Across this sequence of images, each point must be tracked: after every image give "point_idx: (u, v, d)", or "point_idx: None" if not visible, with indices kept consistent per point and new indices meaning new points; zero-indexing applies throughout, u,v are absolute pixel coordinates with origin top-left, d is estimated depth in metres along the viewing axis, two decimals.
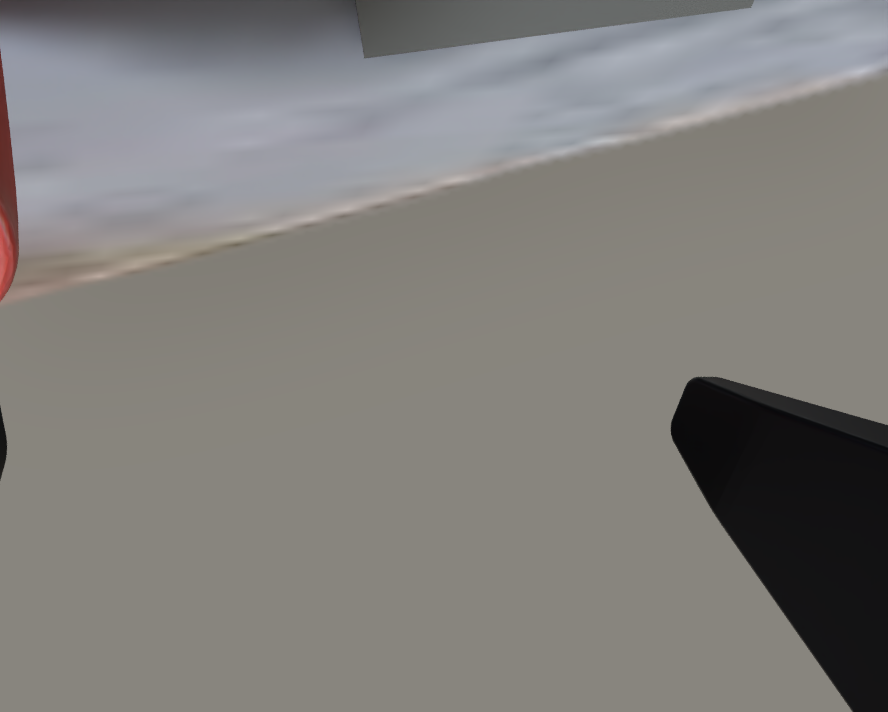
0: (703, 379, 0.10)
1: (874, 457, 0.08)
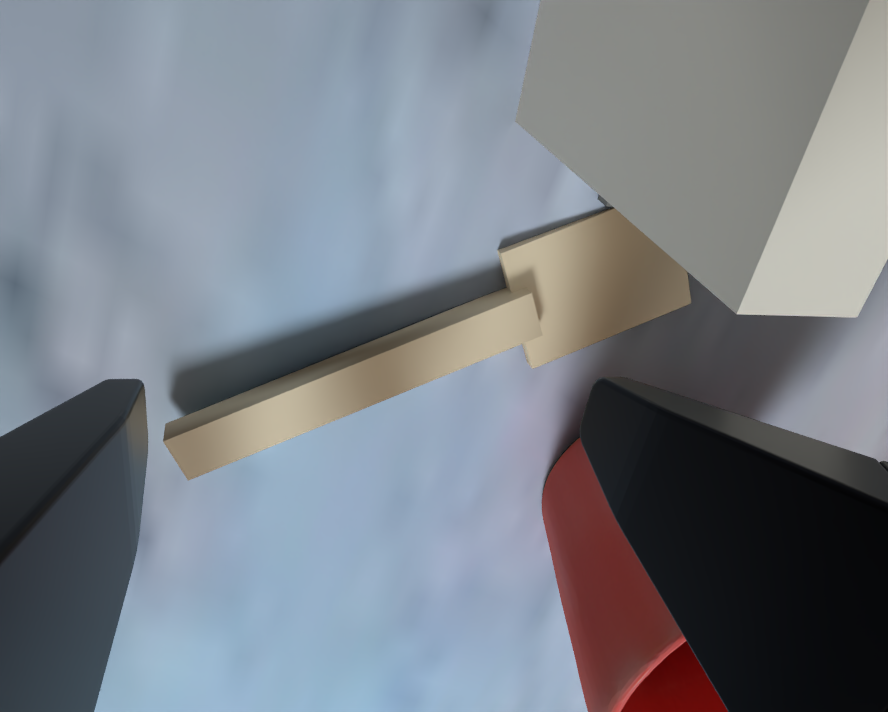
0: (607, 379, 0.10)
1: (755, 463, 0.07)
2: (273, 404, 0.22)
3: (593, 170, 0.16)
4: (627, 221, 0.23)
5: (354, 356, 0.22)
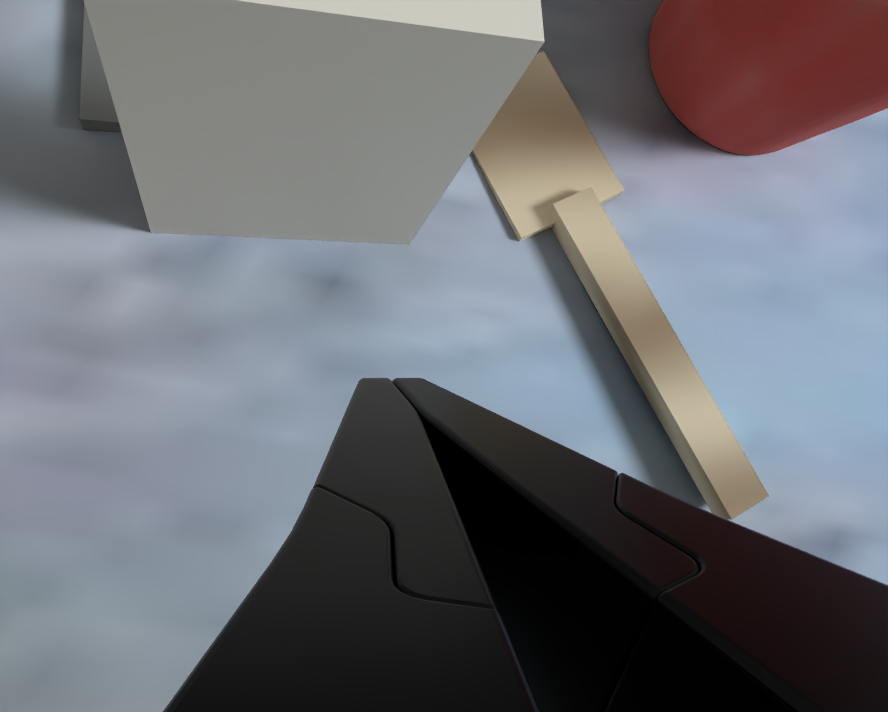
0: (398, 380, 0.09)
1: (483, 474, 0.06)
2: (684, 423, 0.24)
3: (442, 175, 0.19)
4: None
5: (631, 356, 0.25)
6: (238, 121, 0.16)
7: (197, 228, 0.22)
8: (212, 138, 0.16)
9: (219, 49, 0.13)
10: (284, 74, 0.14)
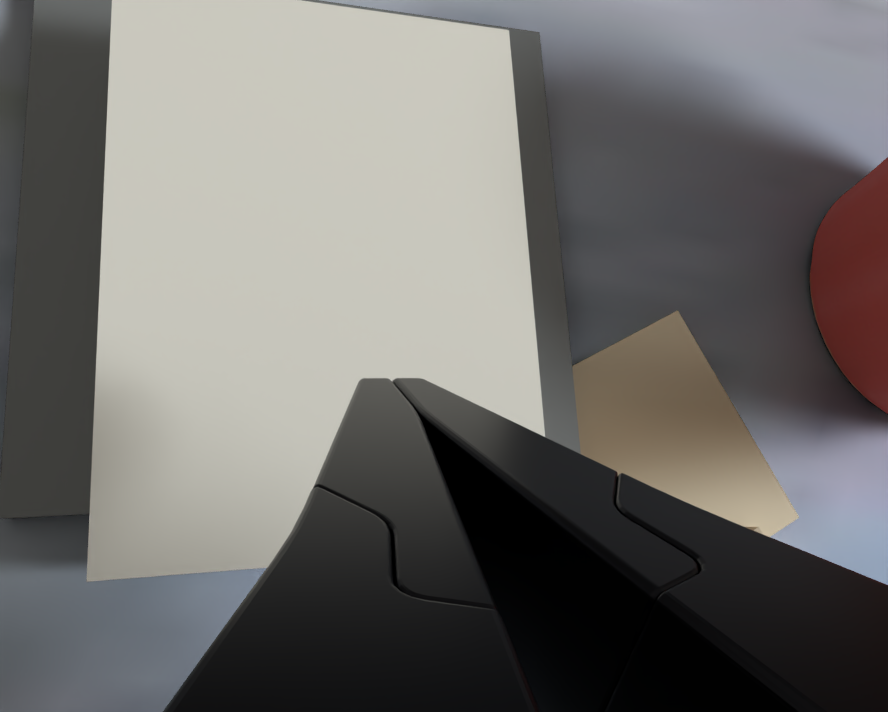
0: (398, 380, 0.09)
1: (483, 475, 0.06)
2: None
3: (514, 279, 0.15)
4: (592, 438, 0.18)
5: None
6: (250, 178, 0.13)
7: (178, 537, 0.12)
8: (218, 218, 0.13)
9: (229, 53, 0.14)
10: (294, 87, 0.14)
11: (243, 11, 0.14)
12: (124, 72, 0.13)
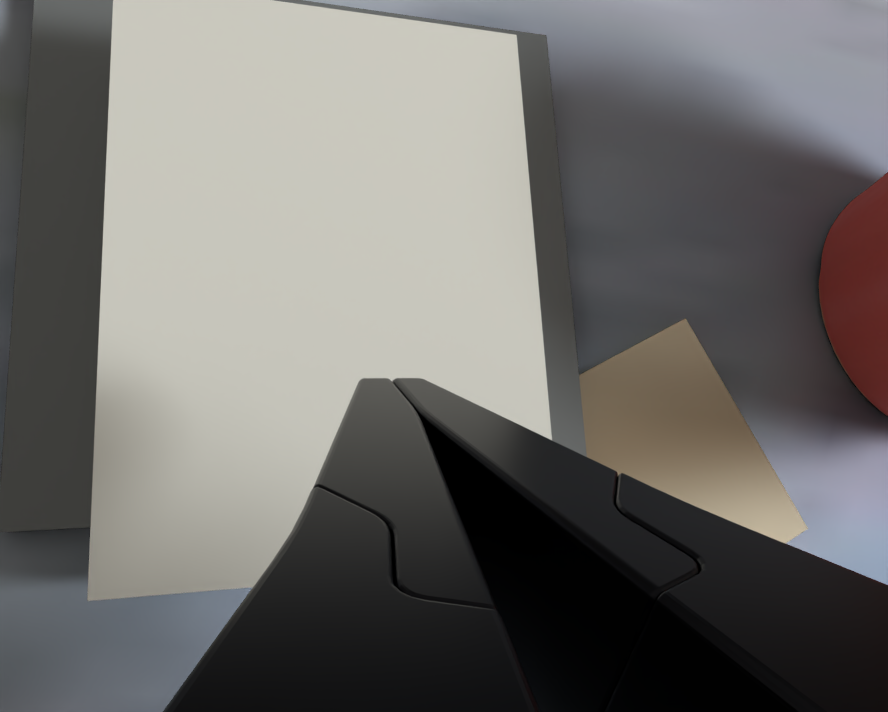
0: (398, 380, 0.09)
1: (483, 475, 0.06)
2: None
3: (522, 290, 0.14)
4: (599, 448, 0.17)
5: None
6: (253, 187, 0.13)
7: (180, 554, 0.12)
8: (221, 227, 0.13)
9: (233, 59, 0.14)
10: (298, 93, 0.14)
11: (246, 16, 0.14)
12: (125, 79, 0.13)
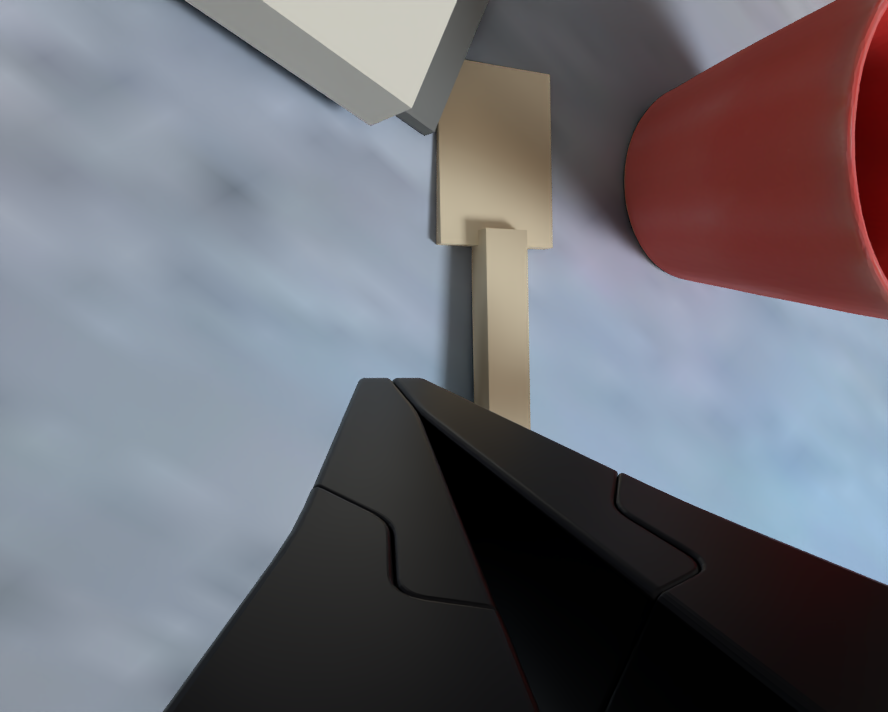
0: (398, 380, 0.09)
1: (482, 475, 0.06)
2: None
3: None
4: (454, 113, 0.23)
5: (482, 405, 0.24)
6: None
7: None
8: None
9: None
10: None
11: None
12: None
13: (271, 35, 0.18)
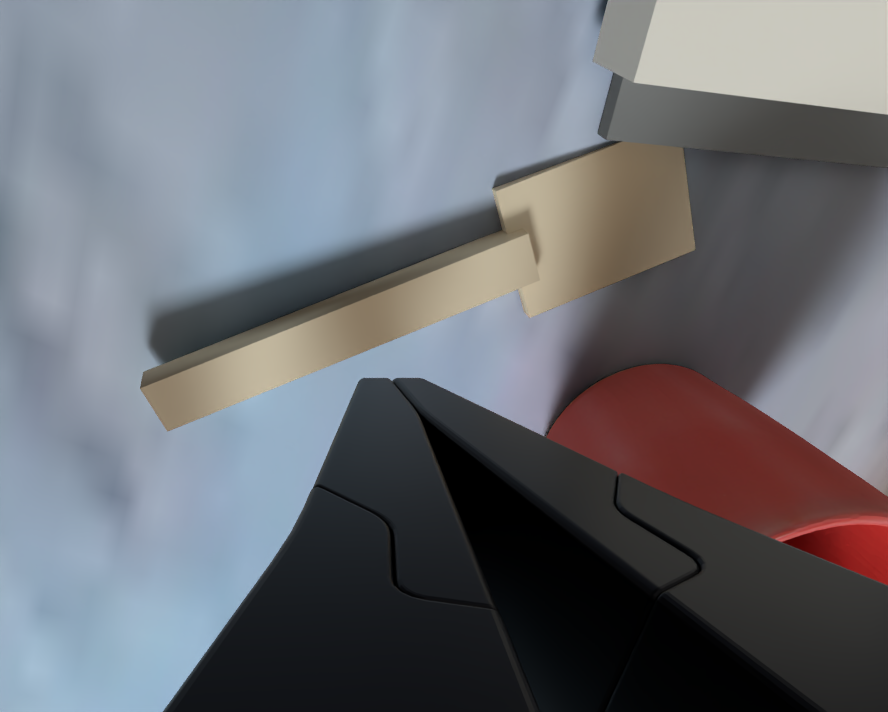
0: (398, 380, 0.09)
1: (483, 475, 0.06)
2: (257, 349, 0.21)
3: (817, 90, 0.19)
4: (628, 159, 0.22)
5: (342, 300, 0.21)
6: None
7: None
8: None
9: None
10: None
11: None
12: None
13: None
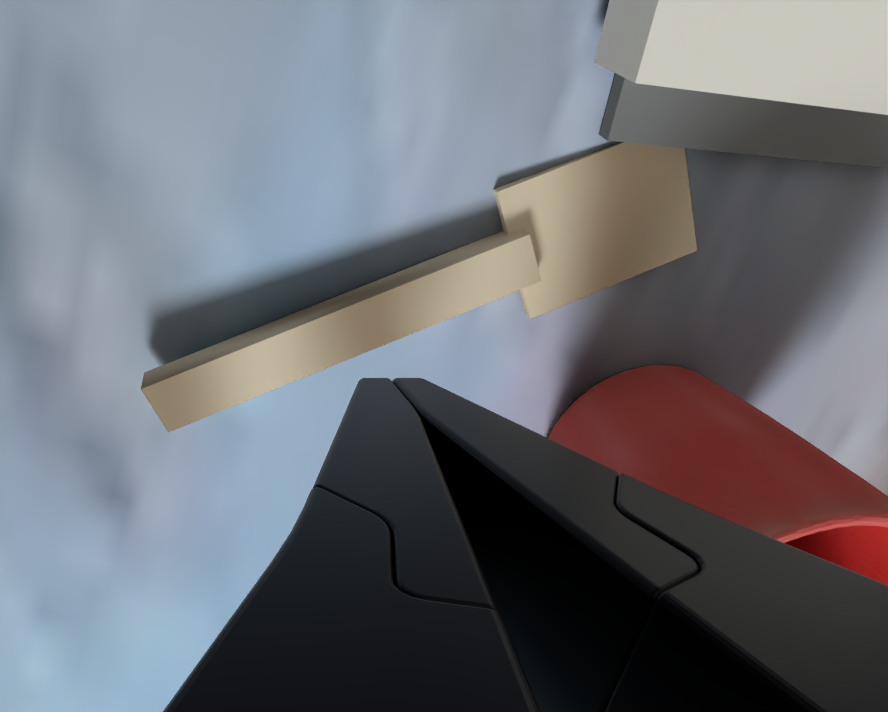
0: (398, 381, 0.09)
1: (483, 475, 0.06)
2: (257, 350, 0.21)
3: (819, 91, 0.18)
4: (630, 159, 0.22)
5: (343, 301, 0.21)
6: None
7: None
8: None
9: None
10: None
11: None
12: None
13: None
